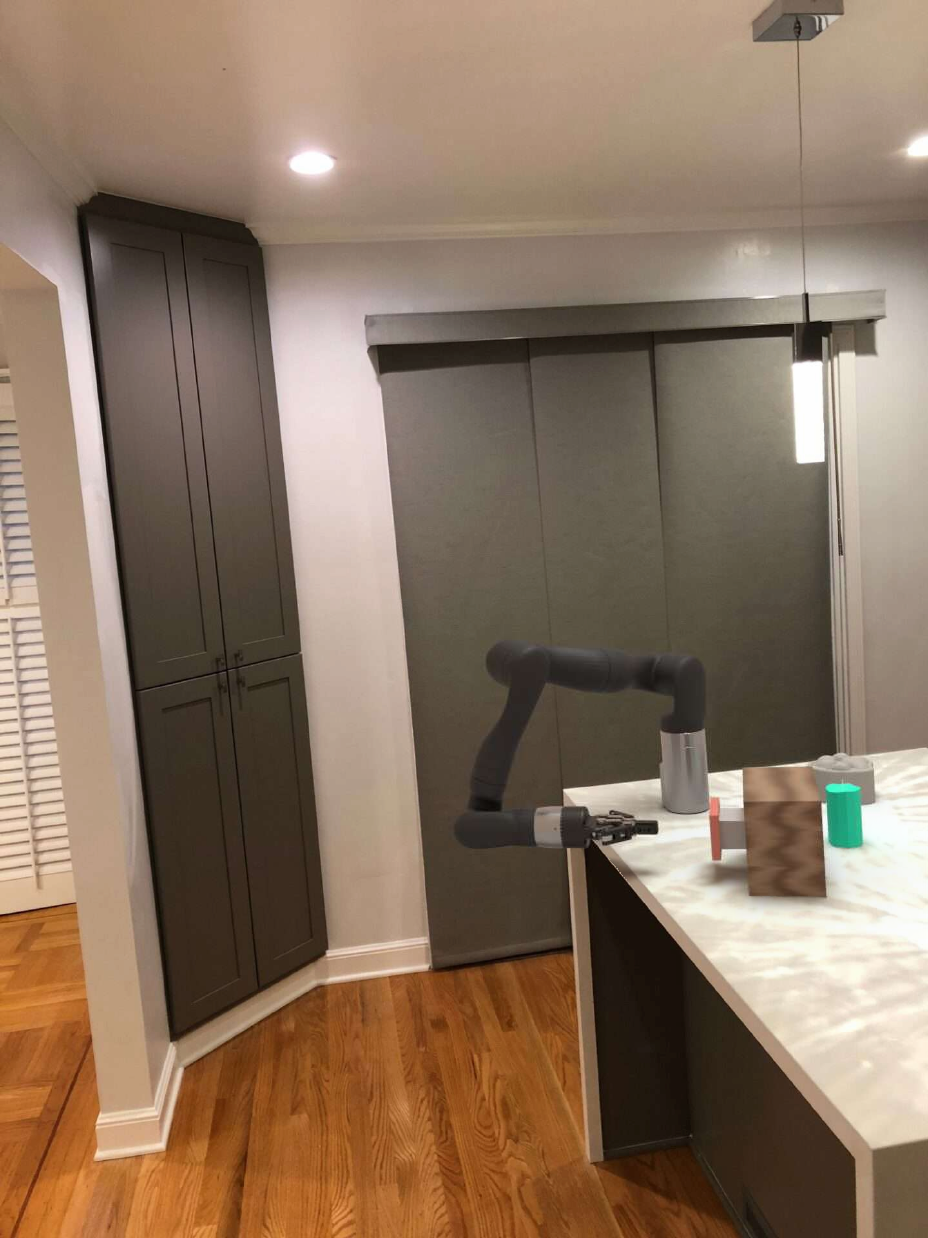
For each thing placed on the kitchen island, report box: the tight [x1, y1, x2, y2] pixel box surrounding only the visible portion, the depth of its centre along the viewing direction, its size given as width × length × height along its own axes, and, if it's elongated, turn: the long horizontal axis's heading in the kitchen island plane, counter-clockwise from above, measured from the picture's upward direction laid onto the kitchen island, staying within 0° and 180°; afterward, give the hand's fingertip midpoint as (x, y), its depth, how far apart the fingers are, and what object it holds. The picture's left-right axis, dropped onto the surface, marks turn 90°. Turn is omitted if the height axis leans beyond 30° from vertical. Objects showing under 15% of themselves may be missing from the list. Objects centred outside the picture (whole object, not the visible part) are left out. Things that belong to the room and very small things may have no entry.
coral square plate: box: [708, 796, 746, 862], centre depth 168 cm, size 10×10×8 cm
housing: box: [742, 765, 827, 898], centre depth 166 cm, size 12×20×16 cm, turn 164°
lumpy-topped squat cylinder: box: [806, 752, 876, 806], centre depth 203 cm, size 10×13×9 cm
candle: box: [826, 779, 864, 849], centre depth 177 cm, size 6×6×12 cm
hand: (657, 827), depth 172 cm, fingers closed
